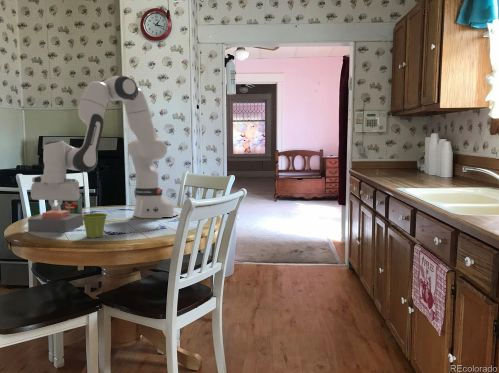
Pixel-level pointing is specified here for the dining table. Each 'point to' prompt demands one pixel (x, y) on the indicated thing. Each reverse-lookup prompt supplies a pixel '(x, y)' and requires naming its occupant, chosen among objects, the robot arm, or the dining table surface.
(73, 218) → the button housing
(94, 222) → the plant pot
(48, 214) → the button
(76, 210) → the canned tomato
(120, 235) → the dining table surface
